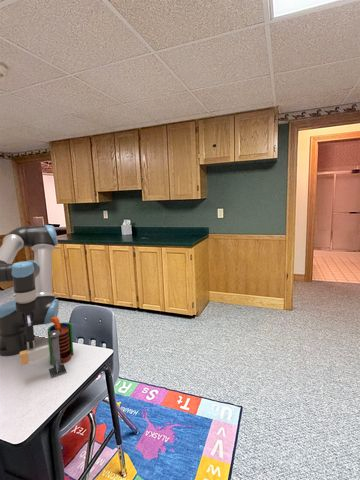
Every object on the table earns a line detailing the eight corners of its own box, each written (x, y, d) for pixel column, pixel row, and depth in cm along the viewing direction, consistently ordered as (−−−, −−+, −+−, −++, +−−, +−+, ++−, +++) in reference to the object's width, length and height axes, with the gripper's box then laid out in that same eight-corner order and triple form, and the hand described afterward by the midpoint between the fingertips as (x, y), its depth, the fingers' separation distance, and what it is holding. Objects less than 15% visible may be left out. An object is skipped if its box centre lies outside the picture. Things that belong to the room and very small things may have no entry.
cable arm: (50, 356, 109) (49, 346, 108) (21, 365, 103) (20, 355, 102) (49, 353, 111) (48, 343, 110) (20, 362, 105) (19, 351, 104)
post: (48, 370, 113) (45, 331, 111) (63, 365, 117) (60, 327, 114) (51, 378, 109) (47, 337, 106) (66, 372, 112) (63, 333, 109)
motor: (62, 367, 116) (59, 324, 113) (45, 364, 118) (40, 322, 114) (76, 353, 126) (73, 314, 122) (59, 351, 127) (56, 313, 124)
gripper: (14, 297, 109) (20, 349, 112) (16, 307, 98) (22, 365, 102) (34, 293, 113) (40, 344, 117) (38, 303, 102) (44, 358, 106)
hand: (31, 354), depth 109 cm, fingers closed
